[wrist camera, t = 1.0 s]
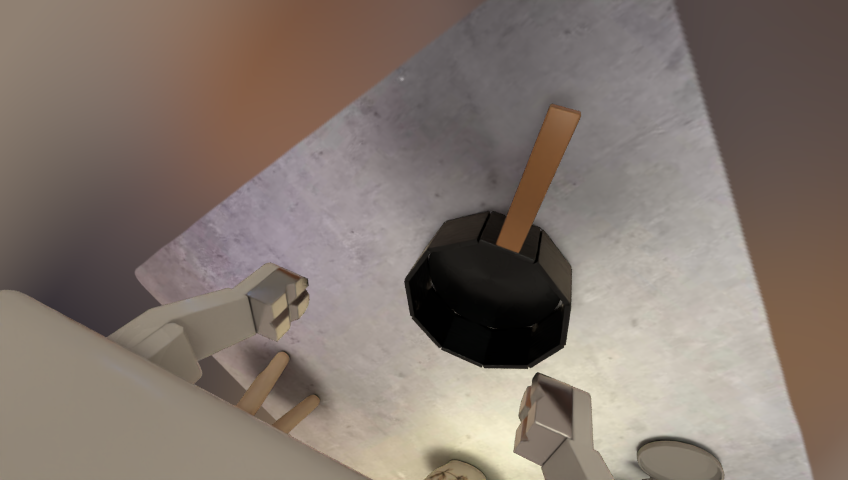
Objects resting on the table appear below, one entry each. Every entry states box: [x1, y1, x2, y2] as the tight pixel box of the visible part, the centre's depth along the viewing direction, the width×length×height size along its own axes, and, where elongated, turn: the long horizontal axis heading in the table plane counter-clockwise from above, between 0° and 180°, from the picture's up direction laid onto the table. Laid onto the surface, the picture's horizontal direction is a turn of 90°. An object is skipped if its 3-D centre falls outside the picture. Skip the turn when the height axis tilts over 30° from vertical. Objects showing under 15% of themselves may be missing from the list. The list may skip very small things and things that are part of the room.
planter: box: [234, 352, 320, 434], centre depth 45 cm, size 16×16×22 cm
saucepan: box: [404, 104, 581, 369], centre depth 25 cm, size 21×13×5 cm, turn 169°
